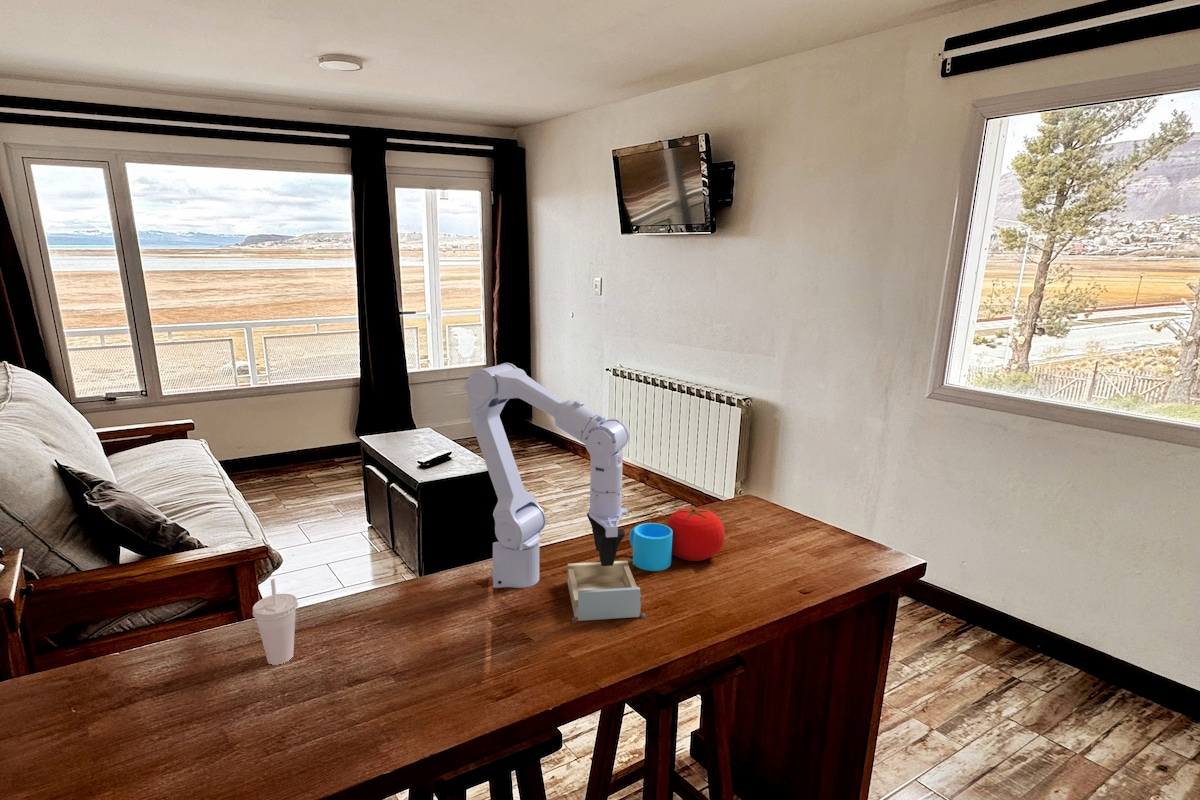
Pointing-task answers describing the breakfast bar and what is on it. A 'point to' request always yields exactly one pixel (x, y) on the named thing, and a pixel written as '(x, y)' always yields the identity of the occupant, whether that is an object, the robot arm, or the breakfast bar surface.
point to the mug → (651, 546)
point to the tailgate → (608, 603)
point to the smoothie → (277, 625)
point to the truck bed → (597, 579)
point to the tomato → (695, 533)
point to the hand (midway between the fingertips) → (604, 557)
